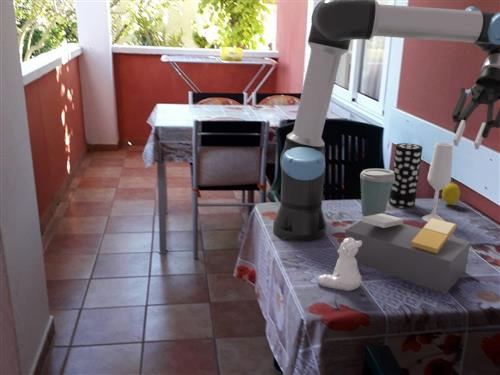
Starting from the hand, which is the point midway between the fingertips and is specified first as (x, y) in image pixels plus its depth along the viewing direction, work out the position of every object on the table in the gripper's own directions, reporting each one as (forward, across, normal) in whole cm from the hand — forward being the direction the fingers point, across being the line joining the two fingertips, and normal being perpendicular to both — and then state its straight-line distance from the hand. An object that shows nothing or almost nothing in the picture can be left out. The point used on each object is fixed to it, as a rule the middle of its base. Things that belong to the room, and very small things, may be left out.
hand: (465, 144), depth 127 cm
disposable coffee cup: (+16, +26, -24) cm, 39 cm away
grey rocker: (+27, +11, +2) cm, 30 cm away
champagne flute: (+9, +10, -32) cm, 34 cm away
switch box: (+34, +5, -6) cm, 35 cm away
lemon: (-3, +11, -44) cm, 45 cm away
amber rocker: (+27, -2, +2) cm, 28 cm away
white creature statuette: (+48, +11, +8) cm, 50 cm away
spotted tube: (+4, +24, -36) cm, 43 cm away
